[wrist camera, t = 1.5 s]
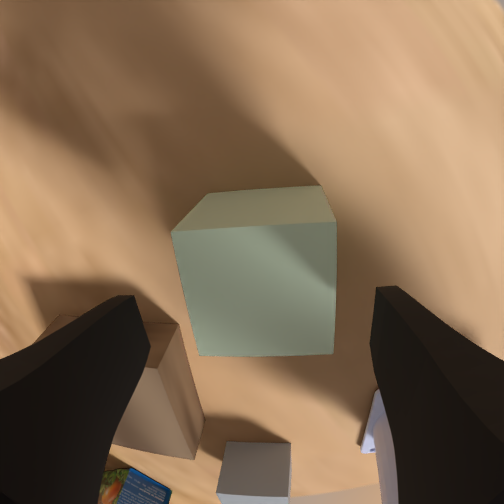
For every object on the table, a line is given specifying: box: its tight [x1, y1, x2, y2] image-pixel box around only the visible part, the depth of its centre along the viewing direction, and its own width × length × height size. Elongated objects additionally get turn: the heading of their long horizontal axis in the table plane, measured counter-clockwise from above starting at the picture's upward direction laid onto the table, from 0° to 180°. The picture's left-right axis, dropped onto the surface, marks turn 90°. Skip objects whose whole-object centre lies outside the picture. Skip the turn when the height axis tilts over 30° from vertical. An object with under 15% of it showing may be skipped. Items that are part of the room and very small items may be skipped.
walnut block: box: [33, 315, 205, 460], centre depth 18 cm, size 9×9×4 cm
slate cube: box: [216, 441, 292, 504], centre depth 21 cm, size 5×5×5 cm
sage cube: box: [171, 185, 337, 357], centre depth 13 cm, size 5×5×5 cm
